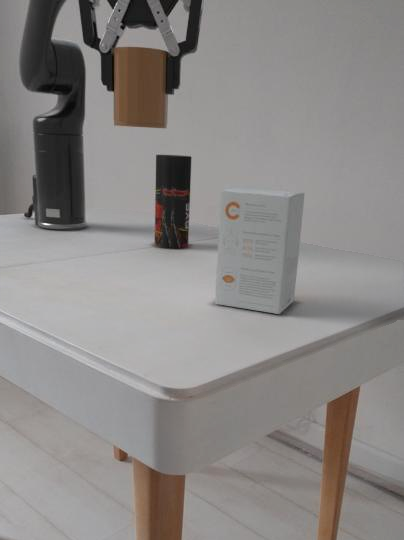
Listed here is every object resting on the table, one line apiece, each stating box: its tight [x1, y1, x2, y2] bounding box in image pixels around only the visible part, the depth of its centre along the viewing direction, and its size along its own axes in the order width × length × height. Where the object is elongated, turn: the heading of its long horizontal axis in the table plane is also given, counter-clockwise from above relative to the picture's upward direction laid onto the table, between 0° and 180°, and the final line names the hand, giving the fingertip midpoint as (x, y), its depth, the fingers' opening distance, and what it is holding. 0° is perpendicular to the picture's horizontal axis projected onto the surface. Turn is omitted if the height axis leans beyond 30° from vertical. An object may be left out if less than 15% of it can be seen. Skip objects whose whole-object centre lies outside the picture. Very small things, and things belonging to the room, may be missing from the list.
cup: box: [113, 46, 169, 129], centre depth 65 cm, size 6×6×8 cm
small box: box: [214, 187, 305, 315], centre depth 65 cm, size 8×6×13 cm
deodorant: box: [154, 154, 192, 250], centre depth 97 cm, size 6×6×15 cm
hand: (140, 92), depth 65 cm, fingers closed on cup, 6 cm apart
